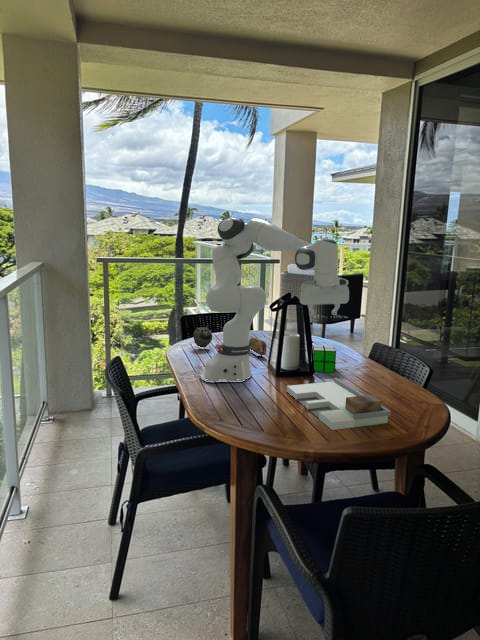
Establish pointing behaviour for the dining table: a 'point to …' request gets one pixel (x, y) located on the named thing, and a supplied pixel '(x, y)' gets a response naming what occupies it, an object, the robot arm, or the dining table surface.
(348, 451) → the dining table surface
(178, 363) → the dining table surface
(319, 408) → the trap board
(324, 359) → the puzzle cube
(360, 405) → the walnut bar
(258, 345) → the brown rounded lump
